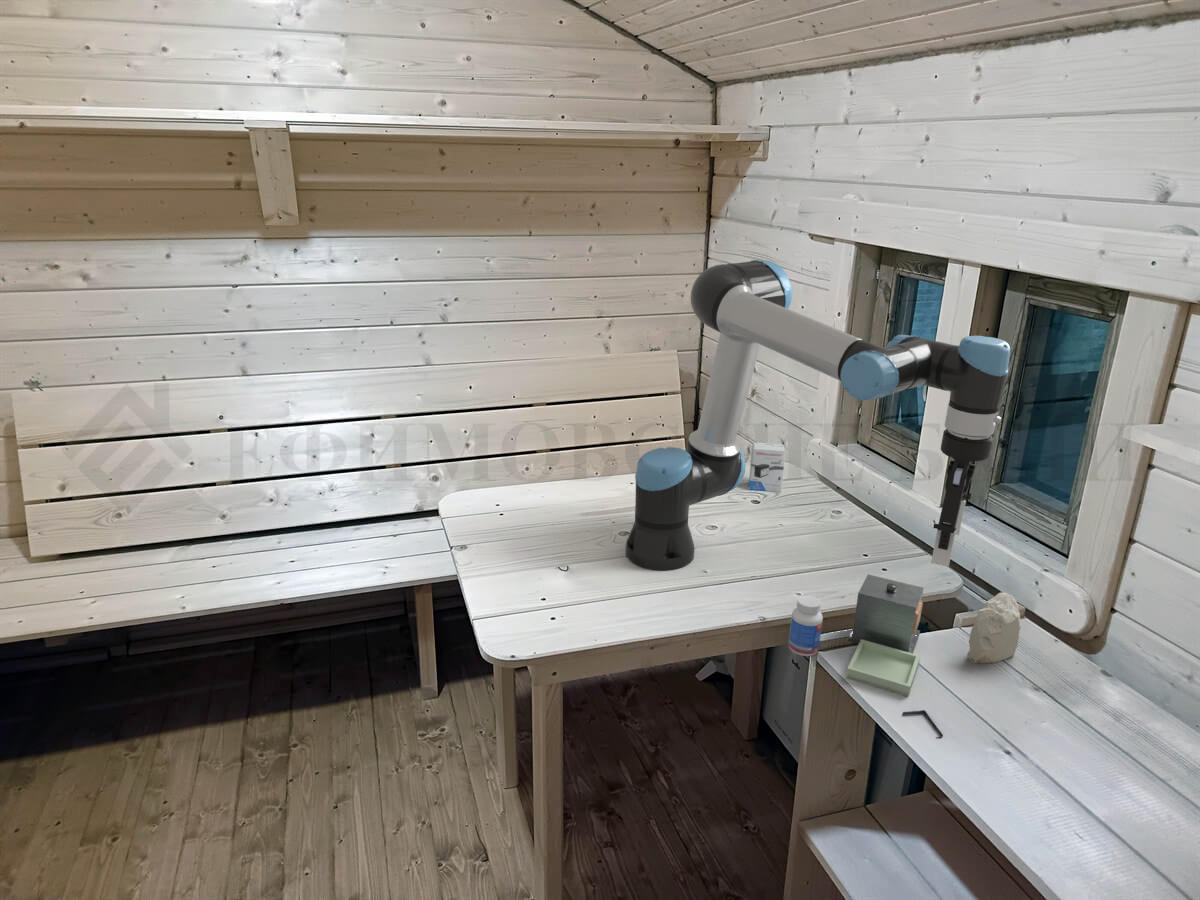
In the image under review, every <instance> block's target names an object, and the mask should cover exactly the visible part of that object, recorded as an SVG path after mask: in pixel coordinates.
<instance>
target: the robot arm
mask: <svg viewBox="0 0 1200 900" xmlns="http://www.w3.org/2000/svg"><path fill="white" fill-rule="evenodd" d="M690 291H691V292H690V305H691V309H692V311H693V313H694V315H695V316H696V317H697V318H698V320H699V321H700V322H701V323H702V324H704V325H705V326H707V327H709V328H711V329H712V330H715V331H716V332H718V333H719V336H718V339H717V340H718V341H717V345H716V349H715V353H714V357H713V363H712V367H711V371H710V375H709V380H708V383H707V388H706V393H705V398H704V401H703V406H702V411H701V414H700V418H699V423H698V428H697V429H696V430H694V431H692V432H691V433H690V434H689V436H688V440H687V445H686V449H682V448H680V447H671V446H669V447H666V448H664V447H658V448H653V449H651V450H648V451H647V452H645V453H643V454H642V455H641V456H640V458H639V459H638V460H637V464H636V465H637V466H636V471H635V477H634V478H635V506H634V507H635V508H634V522H633V524H632V527H631V530H630V532H629V535H628V536H627V540H626V544H625V555H626V558H628V560H629V561H630V562H631V563H633V564H634V565H637V566H639V567H642V568H645V569H650V570H655V571H656V570H657V571H670V570H677V569H680V568H681V569H682V568H683V567H686V566H688V565H689V564H691V563H692V562H693V561H694V558H695V549H696V548H695V543H694V540H693V536H692V533H691V530H690V526H689V514H690V513H689V512H690V511H689V510H690V506H692V505H695V504H697V503H701V502H703V501H707V500H710V499H713V498H716V497H719V496H720V497H721V496H723V495H726V494H728V493H729V492H731V491H733V490H734V489H736V488H737V487H738V486H739V485H740V484H741V483H742V481H743V480H744V477H745V473H746V460H744V457H745V456H744V453H743V451H742V448H741V443H740V442H739V441H738V439H737V435H738V432H739V428H740V424H741V420H742V417H743V414H744V408H745V406H746V402H747V399H748V394H749V390H750V386H751V382H752V379H753V374H754V371H755V368H756V363H757V361H758V355H759V351H760V348H761V346H763V347H765V348H768V349H769V350H771V351H773V352H776V353H778V354H780V355H782V356H785V357H787V358H789V359H792V360H794V361H796V362H799V363H800V364H802V365H804V366H807V367H809V368H810V369H813V370H816V371H817V372H820V373H822V374H824V375H826V376H828V377H831V378H833V379H835V380H838V381H839V382H841V385H842V387H843V389H844V390H845V391H846V392H847V393H848V395H849V396H850V397H851V398H853V399H855V400H859V401H869V400H880V399H883V398H885V397H887V396H889V395H893V394H896V393H899V392H903V391H906V390H910V389H913V388H916V387H920V386H925V387H928V388H929V387H930V388H934V389H937V390H941V391H946V392H950V393H949V401H948V404H947V405H948V406H947V409H946V414H945V415H946V416H945V421H944V428H945V429H944V430H943V432H942V433H943V434H942V438H941V444H940V451H941V453H942V454H944V455H945V456H947V457H950V458H952V459H953V460H952V459H951V460H950V461H949V464H948V466H947V469H946V481H945V485H944V490H945V493H944V498H943V502H942V508H941V512H940V516H939V521H938V523H933V529H936V530H937V531H936V536H935V541H934V546H933V551H932V556H931V562H930V563H931V564H935V565H939V566H941V567H942V566H943V567H945V568H946V567H947V568H948V567H950V563H951V562H950V561H951V557H952V553H953V547H954V541H955V536H956V535H957V536H960V532H961V527H962V522H963V517H964V513H965V507H966V504H967V500H969V501H970V500H971V498H972V493H969V492H968V491H969V490H970V487H969V486H970V482H972V479H973V476H974V475H975V470H976V466H977V465H976V464H973V463H974V462H983V461H986V460H987V459H988V458H989V457H990V455H991V450H992V445H993V441H994V438H993V436H992V435H993V434H994V433H995V429H996V425H997V424H1000V423H1001V422H1002V417H1000V416H998V415H999V410H1000V406H1001V402H1002V401H1001V400H1002V396H1003V393H1004V387H1005V384H1006V380H1007V376H1008V373H1009V363H1010V356H1011V347H1010V345H1009V343H1008V342H1007V341H1005V340H1003V339H1000V338H996V337H992V336H983V335H969V336H965V337H962V338H961V340H960V342H959V344H958V345H956V344H955V345H954V344H951V343H947V342H943V341H942V342H941V341H938V340H937V341H936V340H933V339H928V338H924V337H922V336H919V335H908V334H898V335H895V336H894V337H893V338H892V340H890V341H888V343H887V344H886V346H884V347H883V346H879V345H877V344H873V343H872V342H869V341H866V340H864V339H861V338H860V337H856V336H855V335H852V334H850V333H847V332H846V331H845V332H844V331H843V330H840V329H837V328H836V327H833V326H831V325H828V324H826V323H823V322H820V321H819V320H815V319H814V318H811V317H808V316H806V315H804V314H801V313H799V312H796V311H794V310H791V309H790V306H791V303H792V301H793V287H792V283H791V280H790V279H789V278H788V275H787V272H786V271H785V269H783V268H782V267H781V266H780V265H779V264H777V263H776V262H774V261H770V260H759V259H751V260H750V261H743V262H742V261H741V262H735V263H734V262H733V263H723V264H722V263H721V264H716V265H713V266H710V267H708V268H706V269H705V270H704V271H702V272H701V273H700V274H699V275H698V276H697V277H696V279H695V281H694V283H693V284H692V288H691V290H690ZM996 423H997V424H996Z"/></svg>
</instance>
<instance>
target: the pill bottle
mask: <svg viewBox="0 0 1200 900" xmlns="http://www.w3.org/2000/svg"><path fill="white" fill-rule="evenodd" d="M820 610H821V601H820V599H818V598H817V597H815V596H811V595H801V596H799V597H798V598H797V601H796V607H794V609H793V610H792V612H791V616H790V617H791V618H790V629H789V637H788V648H789V650H790V651H791V652H793V653H794V654H795V655H798V656H803V657H812V656H814V655H817V654H818V652H819V649H820V643H821V634H822V627H823V621H824V620H823V619H824V617H823V614H822V612H821V611H820Z"/></svg>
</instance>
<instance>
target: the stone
mask: <svg viewBox="0 0 1200 900" xmlns="http://www.w3.org/2000/svg"><path fill="white" fill-rule="evenodd" d="M973 624H974V625H973V626H972V628H971V630H970V633H969V639H968V644H969V645H968V646H969V650H968V652H967V654H966V655H967V659H969V660H970V661H971V660H972V661H973V662H972V661H971V662H972V663H974V662H975V664H991V663H990V662H993V663H997V662H996V661H998V662H1000V661H999V660H1001V661H1004V660H1007V659H1006V658H1008V659H1009V657H1010V658H1011V657H1012V656H1014V655H1015V653H1016V649H1017V647H1018V643H1019V637H1020V630H1021V613H1020V607H1019V604H1018V602H1017V601H1016V599H1015V598H1014V596H1012V595H1011V594H1010V593H1009V594H1008V593H1006V592H998V593H997V594H996V595H995V596H994V597H992V598H990V599H988V600H987V601H986V602H985V604H984V605H983V608H981V609H979V610H978V612H977V614H976V617H975V619H974V623H973ZM1003 659H1004V660H1003Z"/></svg>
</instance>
